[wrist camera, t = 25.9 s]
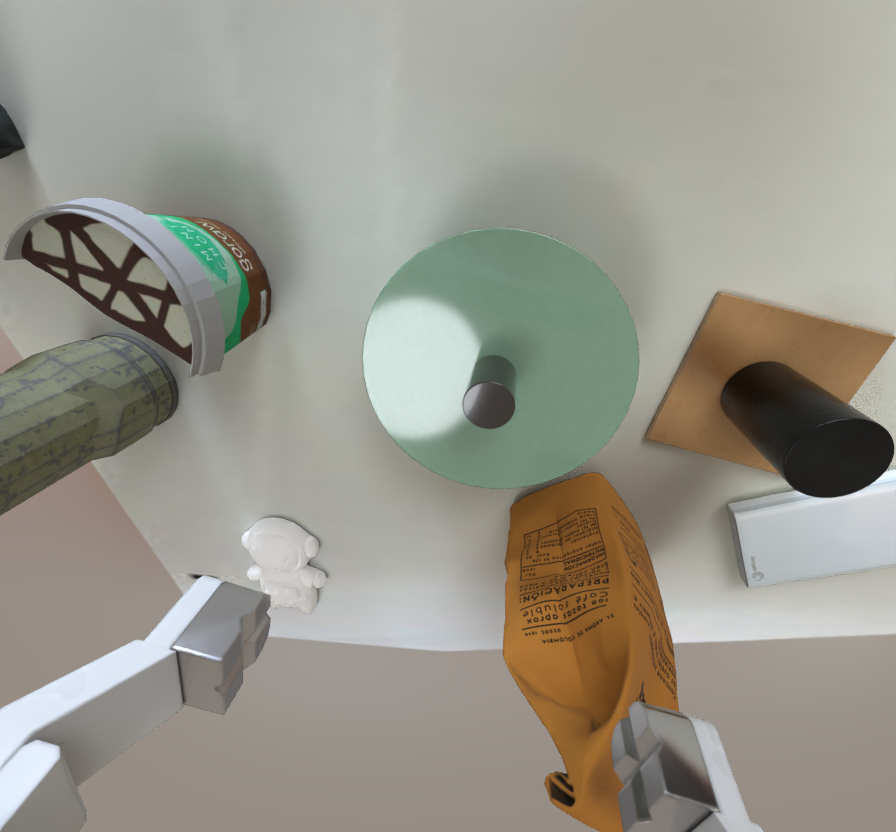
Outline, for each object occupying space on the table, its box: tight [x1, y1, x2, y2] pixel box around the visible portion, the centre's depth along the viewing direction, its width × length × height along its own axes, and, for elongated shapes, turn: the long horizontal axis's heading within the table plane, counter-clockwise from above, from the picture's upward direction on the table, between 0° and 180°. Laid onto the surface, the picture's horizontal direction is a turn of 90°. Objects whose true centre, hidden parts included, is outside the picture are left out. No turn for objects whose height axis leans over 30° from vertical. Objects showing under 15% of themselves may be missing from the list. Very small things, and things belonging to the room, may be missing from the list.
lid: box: [362, 228, 639, 489], centre depth 24 cm, size 16×16×5 cm
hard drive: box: [727, 470, 896, 588], centre depth 33 cm, size 2×8×12 cm
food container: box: [3, 198, 271, 378], centre depth 27 cm, size 12×6×10 cm, turn 56°
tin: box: [721, 361, 894, 498], centre depth 26 cm, size 5×5×8 cm
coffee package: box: [503, 473, 679, 832], centre depth 28 cm, size 10×12×22 cm
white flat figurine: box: [242, 517, 327, 614], centre depth 44 cm, size 9×12×3 cm
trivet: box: [645, 292, 896, 474], centre depth 30 cm, size 11×11×1 cm
